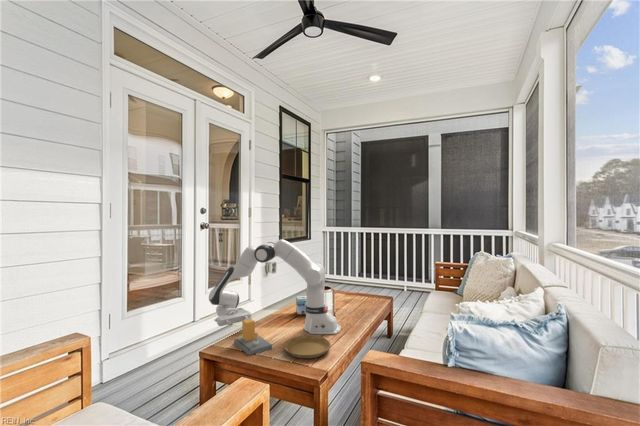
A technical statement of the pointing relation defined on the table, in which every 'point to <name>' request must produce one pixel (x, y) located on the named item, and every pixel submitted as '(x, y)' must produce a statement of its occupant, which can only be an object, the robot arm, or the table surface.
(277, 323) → the table surface
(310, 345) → the plant saucer
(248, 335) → the tall orange brick
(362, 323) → the table surface
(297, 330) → the table surface
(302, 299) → the light bulb box
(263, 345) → the plate
